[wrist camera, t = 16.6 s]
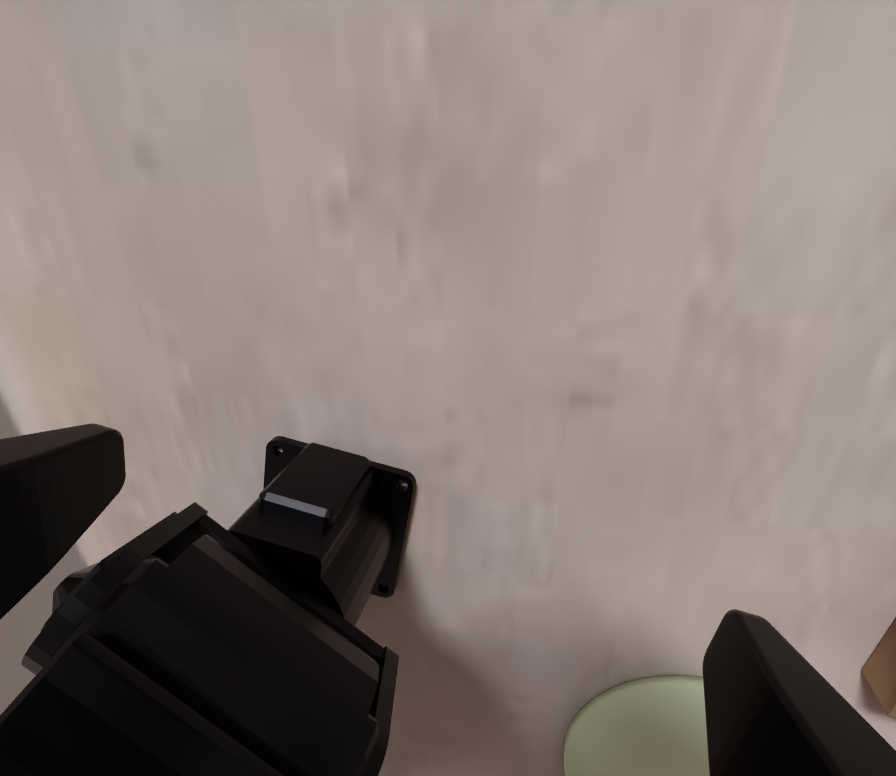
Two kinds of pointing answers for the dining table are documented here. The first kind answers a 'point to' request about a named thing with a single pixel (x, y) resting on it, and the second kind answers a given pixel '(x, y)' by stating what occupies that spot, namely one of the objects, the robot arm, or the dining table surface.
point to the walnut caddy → (884, 671)
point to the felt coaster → (641, 730)
